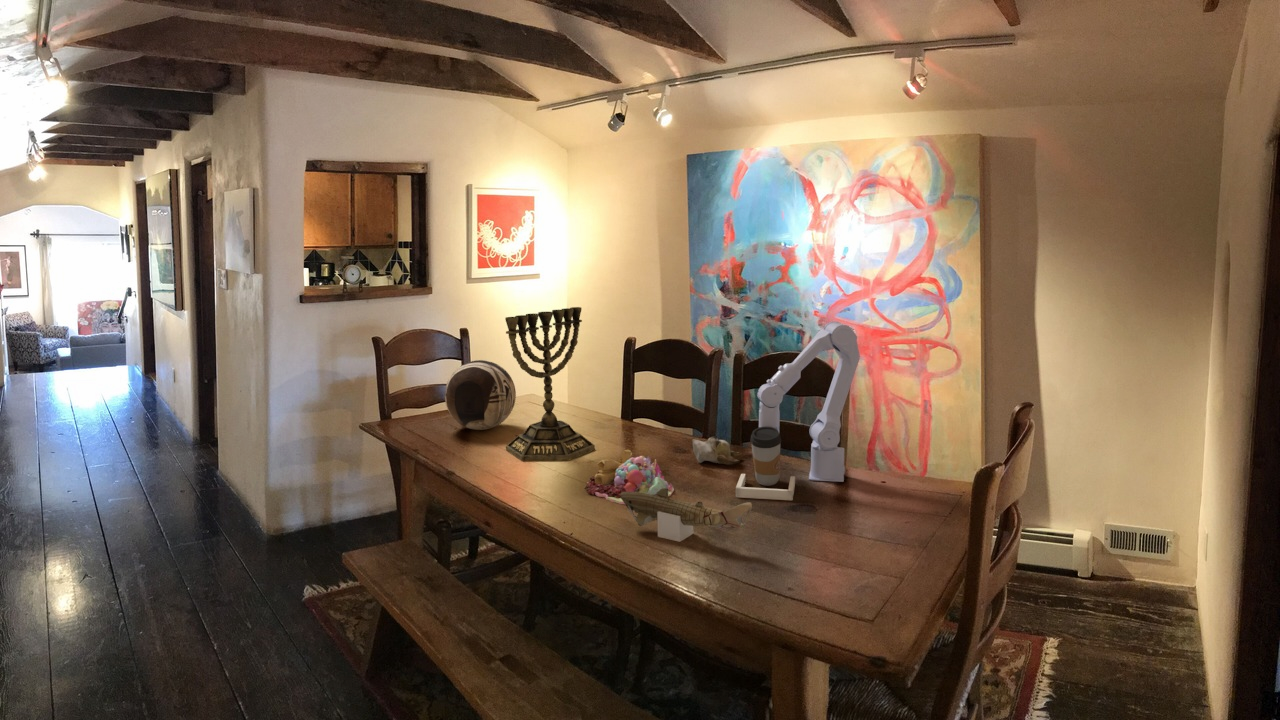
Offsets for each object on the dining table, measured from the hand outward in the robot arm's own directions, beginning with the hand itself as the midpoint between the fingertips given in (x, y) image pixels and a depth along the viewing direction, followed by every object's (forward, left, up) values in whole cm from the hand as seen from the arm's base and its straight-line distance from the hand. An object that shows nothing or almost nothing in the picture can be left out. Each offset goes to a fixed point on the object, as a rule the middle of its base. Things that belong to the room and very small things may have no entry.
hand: (768, 473), depth 233 cm
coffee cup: (0, +3, -1) cm, 3 cm away
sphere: (+106, -42, -2) cm, 114 cm away
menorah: (+72, -19, -2) cm, 74 cm away
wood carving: (+16, +48, -2) cm, 50 cm away
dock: (0, +10, -2) cm, 10 cm away
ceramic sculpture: (+17, -14, -2) cm, 22 cm away
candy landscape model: (+36, +15, -2) cm, 39 cm away
